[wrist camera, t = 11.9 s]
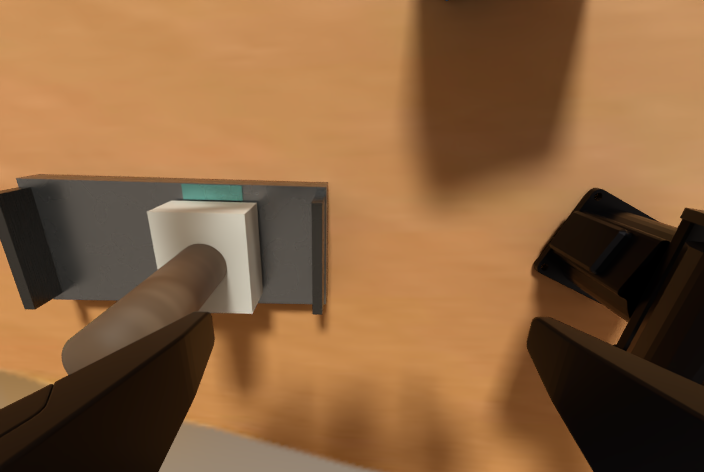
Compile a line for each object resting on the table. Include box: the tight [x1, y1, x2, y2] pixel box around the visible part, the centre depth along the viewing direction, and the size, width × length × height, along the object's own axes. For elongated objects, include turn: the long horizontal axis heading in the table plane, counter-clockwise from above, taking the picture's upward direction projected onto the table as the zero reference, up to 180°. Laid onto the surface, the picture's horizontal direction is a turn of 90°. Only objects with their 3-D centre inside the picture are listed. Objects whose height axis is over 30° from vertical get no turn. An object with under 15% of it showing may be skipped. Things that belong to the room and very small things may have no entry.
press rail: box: [0, 174, 328, 315], centre depth 20 cm, size 18×8×4 cm, turn 88°
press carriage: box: [62, 201, 263, 375], centre depth 15 cm, size 5×6×10 cm
